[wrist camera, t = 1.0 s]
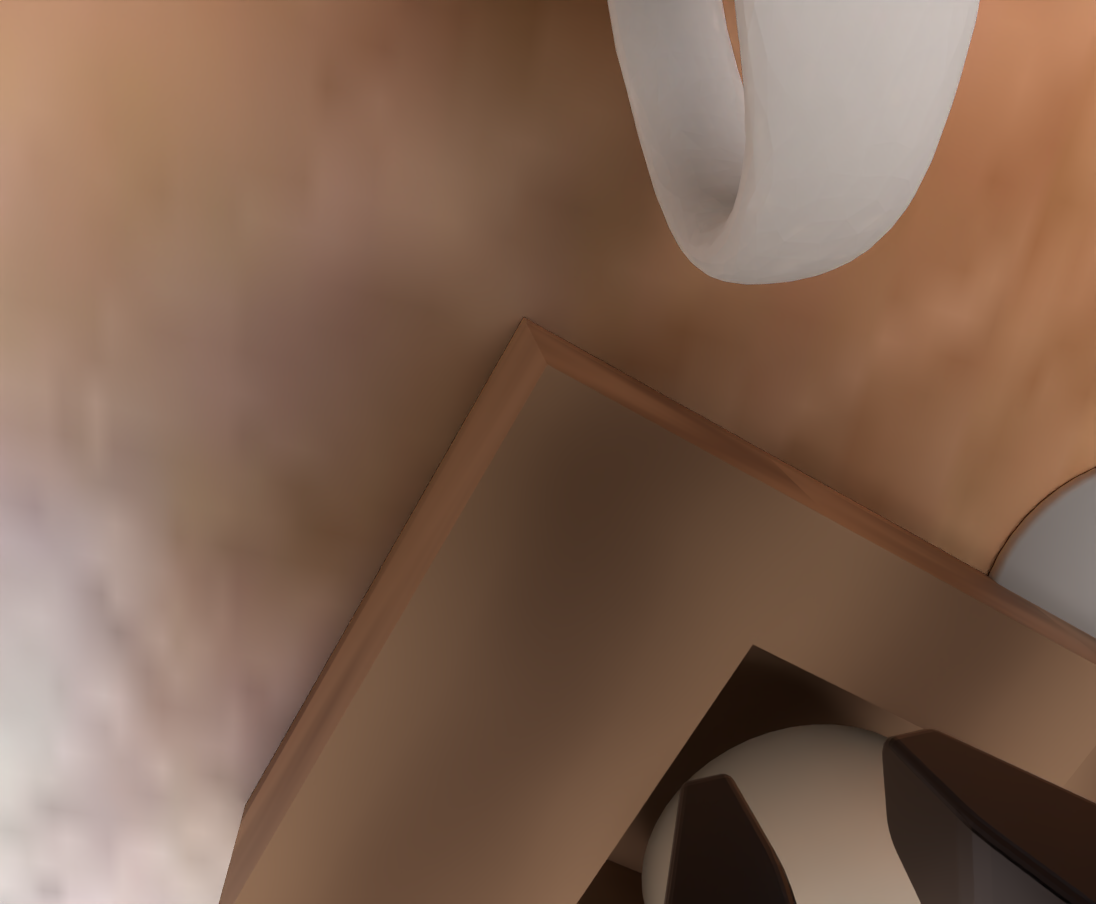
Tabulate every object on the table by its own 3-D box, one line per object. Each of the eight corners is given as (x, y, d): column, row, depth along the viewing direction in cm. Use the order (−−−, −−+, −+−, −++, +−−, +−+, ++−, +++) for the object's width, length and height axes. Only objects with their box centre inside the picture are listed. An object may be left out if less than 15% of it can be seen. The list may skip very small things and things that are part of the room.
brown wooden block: (1193, 690, 23) (1342, 799, 20) (897, 1058, 26) (978, 1217, 22) (524, 316, 19) (547, 364, 15) (245, 805, 21) (205, 950, 18)
